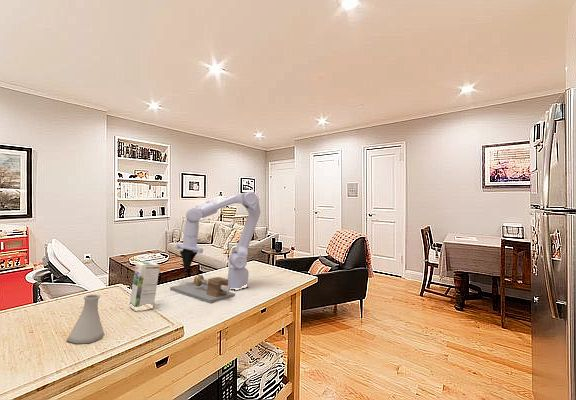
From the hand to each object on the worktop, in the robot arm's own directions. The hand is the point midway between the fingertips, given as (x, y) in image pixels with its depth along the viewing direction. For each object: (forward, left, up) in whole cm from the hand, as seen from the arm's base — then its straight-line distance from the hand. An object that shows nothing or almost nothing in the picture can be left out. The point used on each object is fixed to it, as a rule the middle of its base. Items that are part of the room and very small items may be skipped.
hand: (186, 267), depth 122 cm
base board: (0, +11, -8) cm, 14 cm away
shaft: (0, +16, -6) cm, 17 cm away
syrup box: (+27, +11, -8) cm, 31 cm away
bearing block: (0, +18, -7) cm, 20 cm away
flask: (+48, +21, -8) cm, 53 cm away
